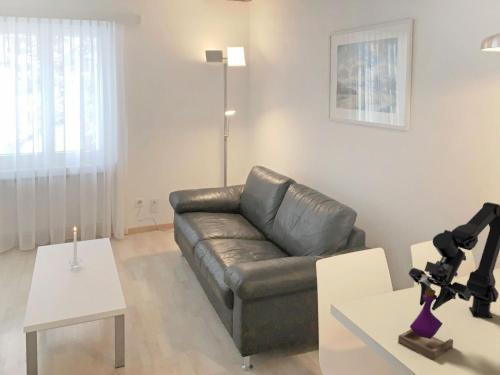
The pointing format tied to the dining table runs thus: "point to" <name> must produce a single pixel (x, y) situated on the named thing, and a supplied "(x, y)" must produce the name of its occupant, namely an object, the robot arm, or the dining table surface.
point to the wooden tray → (424, 344)
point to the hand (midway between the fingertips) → (426, 307)
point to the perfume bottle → (426, 316)
